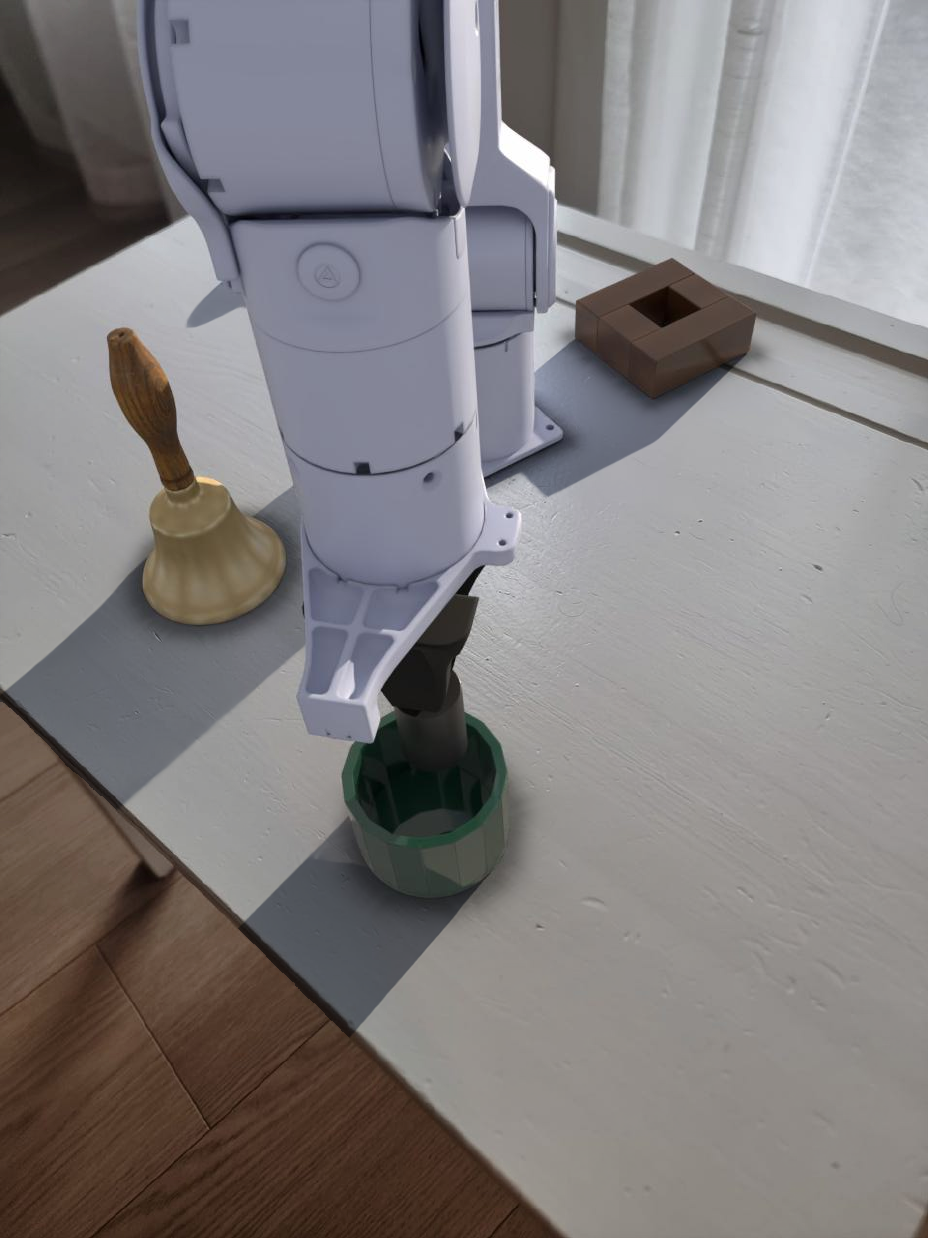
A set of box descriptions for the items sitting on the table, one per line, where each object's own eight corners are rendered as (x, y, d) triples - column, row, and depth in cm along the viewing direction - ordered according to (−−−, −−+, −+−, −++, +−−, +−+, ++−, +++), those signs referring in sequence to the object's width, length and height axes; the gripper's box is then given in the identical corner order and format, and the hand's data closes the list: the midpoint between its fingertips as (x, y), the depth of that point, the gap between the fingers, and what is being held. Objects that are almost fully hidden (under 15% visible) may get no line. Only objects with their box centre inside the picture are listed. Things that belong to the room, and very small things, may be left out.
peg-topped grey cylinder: (390, 736, 43) (362, 610, 36) (445, 705, 43) (427, 576, 37) (424, 783, 41) (401, 660, 34) (480, 750, 42) (469, 623, 35)
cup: (332, 809, 47) (313, 755, 43) (456, 737, 49) (449, 678, 45) (408, 928, 43) (394, 880, 39) (539, 844, 45) (538, 790, 42)
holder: (574, 337, 69) (575, 300, 67) (667, 294, 72) (672, 256, 69) (652, 399, 65) (656, 361, 62) (749, 351, 67) (757, 312, 65)
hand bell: (139, 637, 55) (21, 406, 42) (146, 530, 60) (43, 296, 47) (290, 613, 55) (217, 377, 43) (283, 509, 60) (217, 272, 48)
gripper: (460, 620, 23) (486, 871, 34) (555, 274, 32) (552, 559, 43) (181, 584, 25) (289, 837, 35) (346, 260, 33) (393, 540, 44)
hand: (422, 683), depth 39 cm, fingers closed on peg-topped grey cylinder
